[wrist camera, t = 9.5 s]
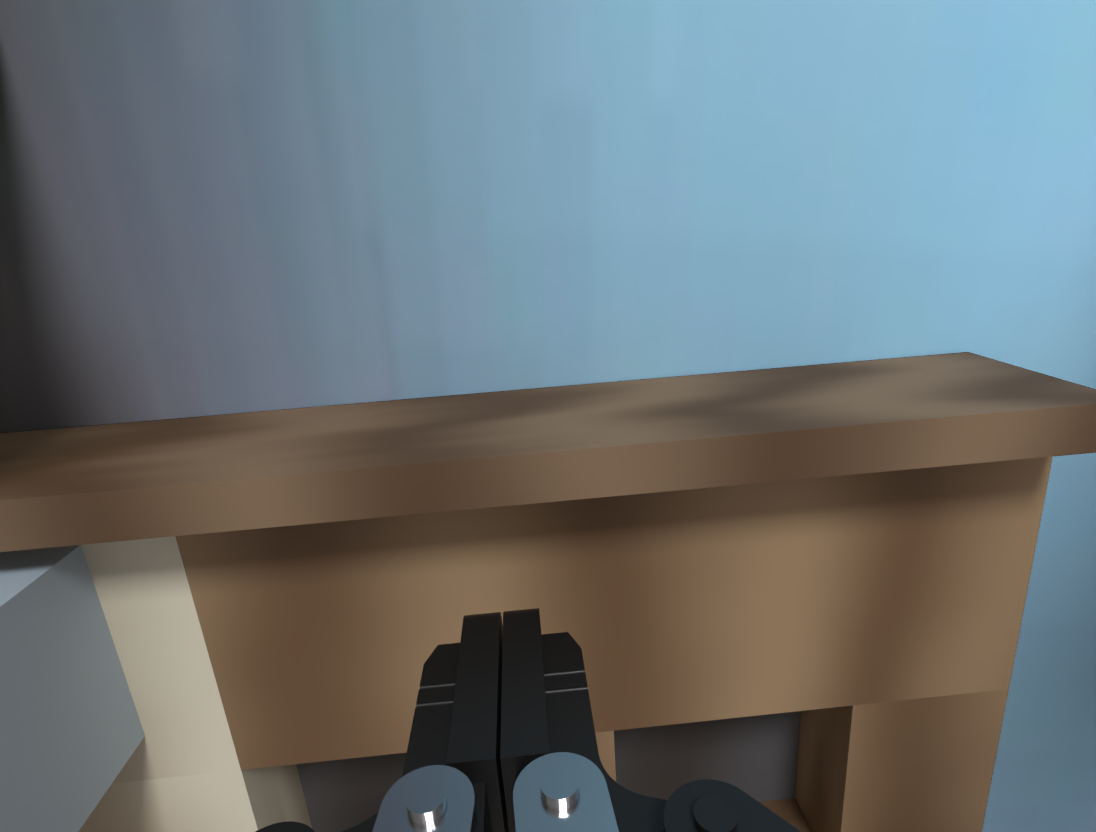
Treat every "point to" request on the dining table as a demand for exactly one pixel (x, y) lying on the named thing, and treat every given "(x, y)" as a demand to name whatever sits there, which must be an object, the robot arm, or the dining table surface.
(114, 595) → the box
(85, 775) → the block
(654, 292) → the dining table surface
